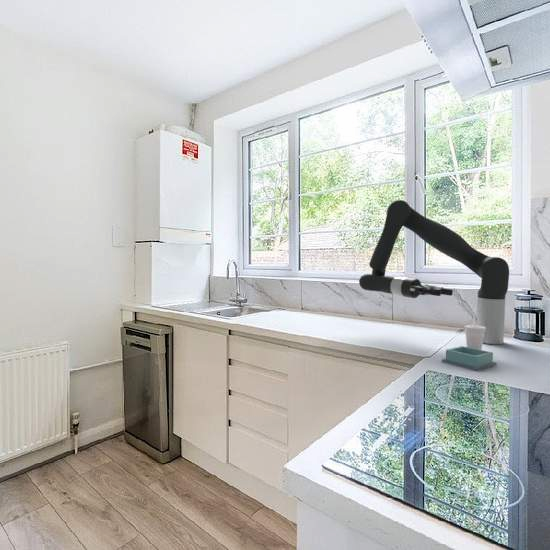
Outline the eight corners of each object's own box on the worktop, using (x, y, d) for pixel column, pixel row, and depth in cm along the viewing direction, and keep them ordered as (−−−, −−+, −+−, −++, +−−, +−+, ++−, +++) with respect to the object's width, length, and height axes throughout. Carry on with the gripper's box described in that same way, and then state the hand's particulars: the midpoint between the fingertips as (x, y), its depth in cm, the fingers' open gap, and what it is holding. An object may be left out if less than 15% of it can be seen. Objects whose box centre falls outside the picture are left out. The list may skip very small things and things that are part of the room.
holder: (460, 356, 115) (461, 345, 115) (496, 365, 106) (497, 352, 106) (441, 361, 109) (442, 349, 109) (478, 371, 100) (478, 358, 100)
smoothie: (479, 353, 120) (480, 312, 119) (488, 358, 114) (490, 315, 113) (459, 352, 121) (461, 312, 120) (468, 357, 114) (469, 315, 114)
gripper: (396, 277, 133) (437, 282, 120) (416, 277, 142) (457, 282, 129) (394, 296, 133) (435, 303, 121) (414, 296, 142) (454, 302, 129)
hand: (446, 292), depth 125 cm, fingers open, 8 cm apart
